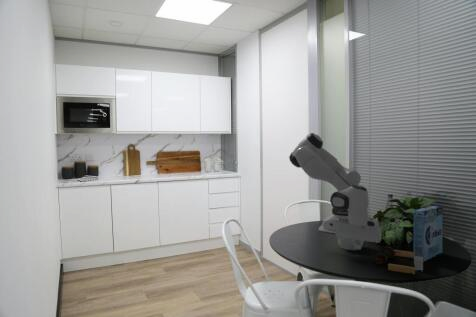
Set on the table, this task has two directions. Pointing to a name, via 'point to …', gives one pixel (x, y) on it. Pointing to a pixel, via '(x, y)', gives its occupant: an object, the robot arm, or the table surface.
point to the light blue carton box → (428, 231)
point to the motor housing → (417, 257)
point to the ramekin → (348, 243)
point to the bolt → (384, 255)
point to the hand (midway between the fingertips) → (357, 249)
